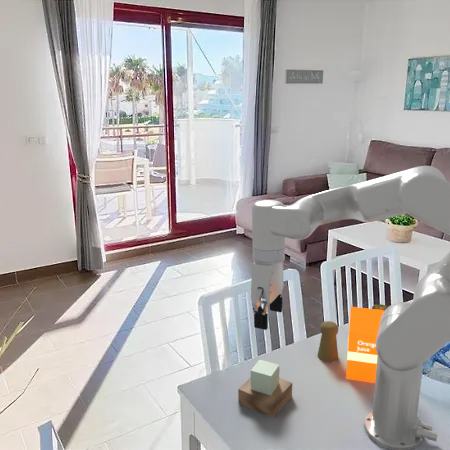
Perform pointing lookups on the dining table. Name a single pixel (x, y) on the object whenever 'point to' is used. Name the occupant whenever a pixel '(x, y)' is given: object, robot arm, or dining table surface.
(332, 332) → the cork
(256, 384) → the sage cube
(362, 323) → the orange juice
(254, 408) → the walnut block
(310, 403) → the dining table surface
